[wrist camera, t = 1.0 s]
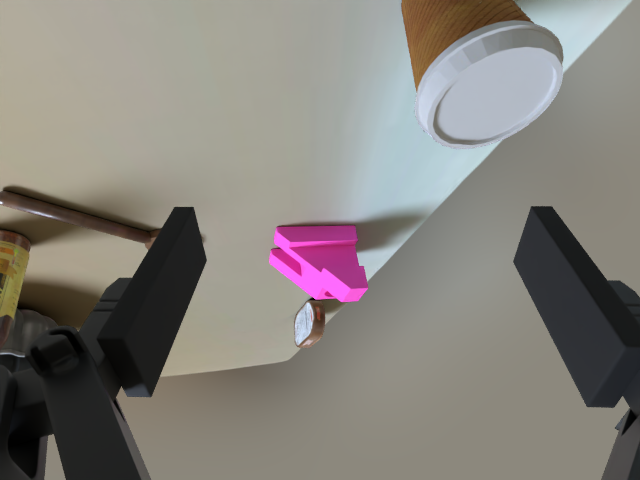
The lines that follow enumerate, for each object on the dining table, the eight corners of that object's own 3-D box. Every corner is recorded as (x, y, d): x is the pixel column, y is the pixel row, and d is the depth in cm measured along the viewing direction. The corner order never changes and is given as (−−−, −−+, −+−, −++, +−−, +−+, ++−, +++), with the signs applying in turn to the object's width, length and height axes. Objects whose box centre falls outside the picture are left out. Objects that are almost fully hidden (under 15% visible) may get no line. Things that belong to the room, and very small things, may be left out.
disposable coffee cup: (519, -88, 28) (600, 23, 23) (486, 36, 37) (539, 139, 31) (381, -58, 29) (427, 58, 23) (380, 57, 37) (414, 163, 31)
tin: (302, 317, 100) (307, 352, 96) (289, 318, 98) (294, 353, 95) (323, 293, 87) (329, 332, 83) (309, 293, 86) (315, 333, 82)
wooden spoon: (-10, 200, 46) (-13, 213, 46) (5, 178, 43) (2, 190, 43) (182, 253, 63) (182, 262, 62) (202, 238, 60) (203, 248, 60)
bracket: (354, 225, 63) (368, 287, 59) (338, 256, 72) (348, 312, 67) (276, 226, 60) (284, 292, 56) (269, 258, 69) (275, 318, 64)
